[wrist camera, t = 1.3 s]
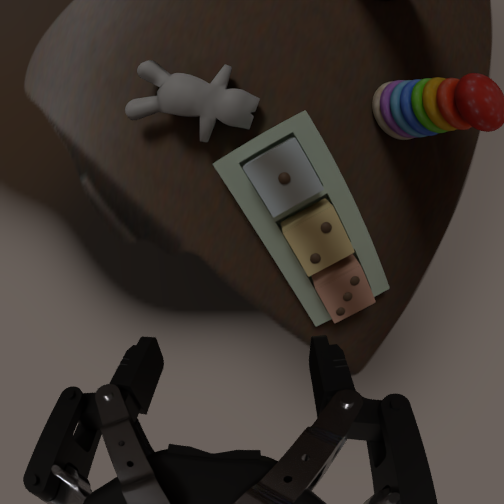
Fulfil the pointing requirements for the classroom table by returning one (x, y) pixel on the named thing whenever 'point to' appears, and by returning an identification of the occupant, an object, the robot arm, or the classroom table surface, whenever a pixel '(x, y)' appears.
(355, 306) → the tile
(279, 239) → the number board
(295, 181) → the grey block
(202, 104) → the bunny figurine
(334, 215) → the tile
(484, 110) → the stacking toy
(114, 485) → the robot arm
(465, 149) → the classroom table surface
